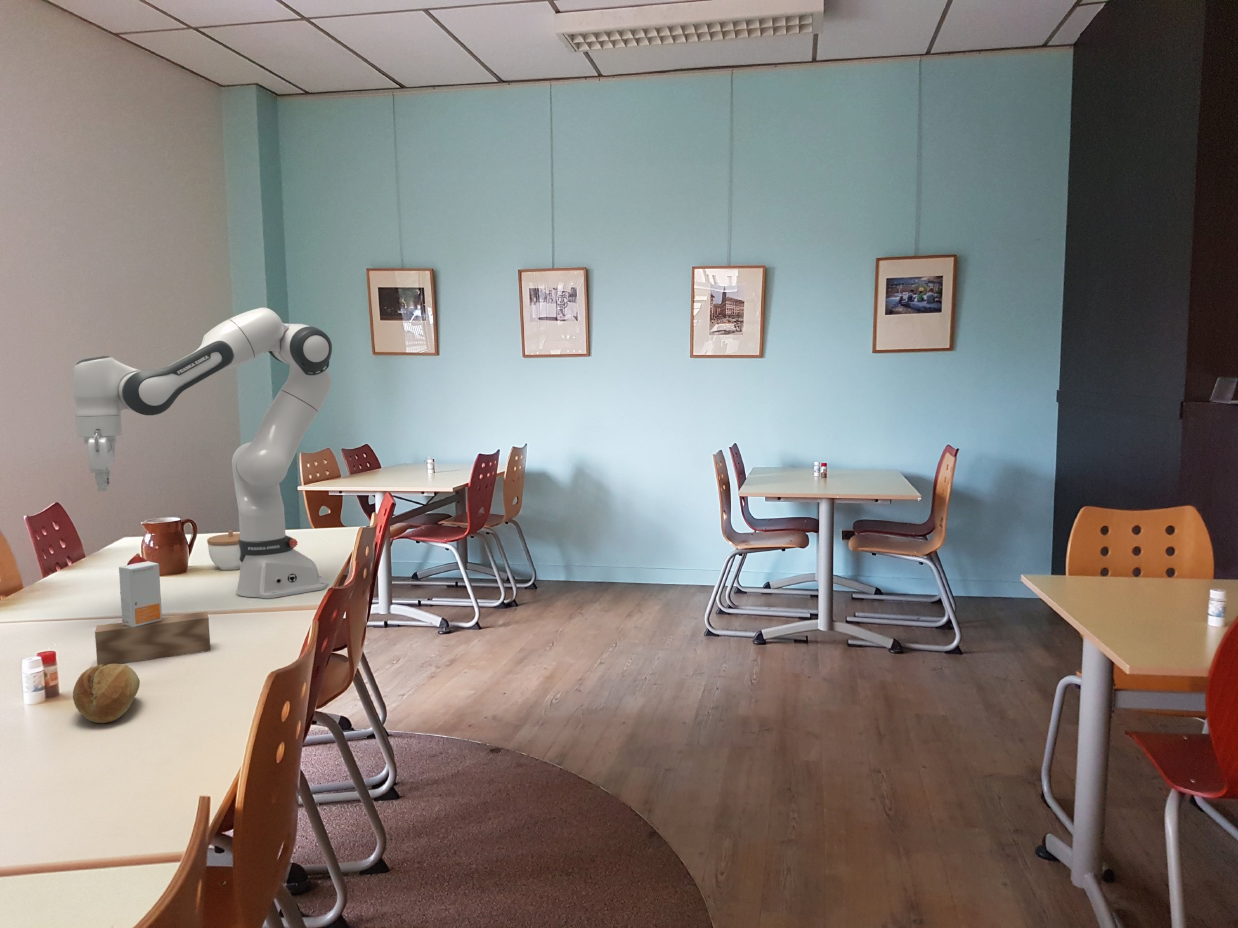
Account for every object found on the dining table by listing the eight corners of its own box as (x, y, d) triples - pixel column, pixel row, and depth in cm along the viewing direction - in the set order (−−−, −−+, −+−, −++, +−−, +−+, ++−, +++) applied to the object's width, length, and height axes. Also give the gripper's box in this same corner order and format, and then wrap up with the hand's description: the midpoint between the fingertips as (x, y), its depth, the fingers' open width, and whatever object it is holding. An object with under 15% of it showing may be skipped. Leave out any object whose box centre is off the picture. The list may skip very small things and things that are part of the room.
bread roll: (69, 734, 134) (65, 686, 133) (80, 702, 148) (77, 658, 147) (138, 722, 139) (134, 676, 138) (143, 692, 152) (140, 649, 151)
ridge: (209, 643, 179) (207, 611, 178) (210, 650, 174) (208, 617, 174) (99, 659, 169) (96, 625, 169) (97, 666, 165) (94, 632, 164)
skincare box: (133, 628, 167) (128, 569, 165) (121, 624, 169) (117, 566, 168) (163, 620, 172) (159, 563, 170) (152, 617, 174) (148, 560, 173)
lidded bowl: (264, 565, 251) (262, 529, 250) (225, 574, 240) (223, 536, 239) (239, 560, 258) (237, 525, 257) (200, 569, 247) (197, 532, 246)
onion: (126, 585, 229) (124, 556, 228) (127, 580, 234) (125, 552, 233) (150, 582, 231) (148, 554, 231) (151, 578, 237) (149, 550, 236)
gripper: (112, 430, 183) (117, 493, 185) (117, 425, 201) (122, 482, 203) (78, 431, 180) (83, 495, 182) (86, 426, 198) (91, 484, 200)
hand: (103, 488), depth 192 cm, fingers open, 8 cm apart
